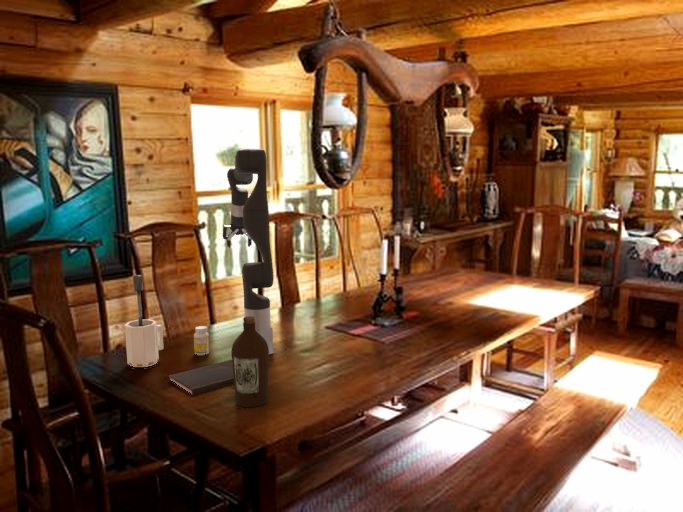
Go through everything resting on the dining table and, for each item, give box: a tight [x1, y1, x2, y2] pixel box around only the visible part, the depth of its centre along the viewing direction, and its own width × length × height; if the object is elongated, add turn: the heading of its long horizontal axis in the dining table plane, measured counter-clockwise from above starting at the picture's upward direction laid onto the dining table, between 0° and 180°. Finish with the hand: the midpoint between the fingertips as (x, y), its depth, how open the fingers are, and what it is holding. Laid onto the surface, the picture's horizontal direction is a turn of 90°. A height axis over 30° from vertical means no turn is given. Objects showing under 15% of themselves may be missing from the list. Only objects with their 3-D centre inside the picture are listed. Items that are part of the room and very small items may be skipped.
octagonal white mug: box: [124, 318, 164, 367], centre depth 205 cm, size 10×12×14 cm
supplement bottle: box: [193, 325, 210, 356], centre depth 215 cm, size 5×5×10 cm
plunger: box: [132, 274, 147, 327], centre depth 201 cm, size 7×7×19 cm
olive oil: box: [230, 316, 270, 408], centre depth 171 cm, size 11×11×25 cm
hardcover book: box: [168, 359, 234, 396], centre depth 191 cm, size 16×23×2 cm
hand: (239, 246), depth 262 cm, fingers open, 8 cm apart
